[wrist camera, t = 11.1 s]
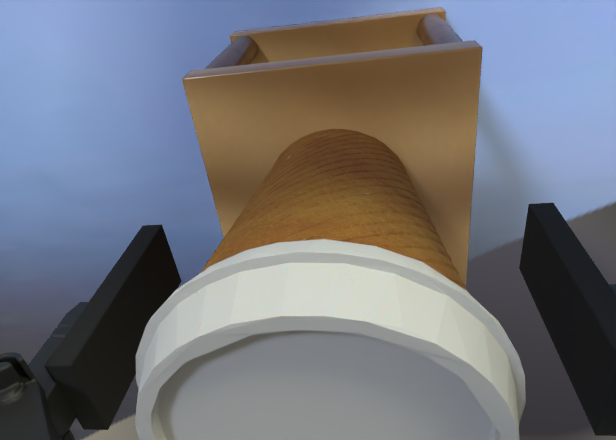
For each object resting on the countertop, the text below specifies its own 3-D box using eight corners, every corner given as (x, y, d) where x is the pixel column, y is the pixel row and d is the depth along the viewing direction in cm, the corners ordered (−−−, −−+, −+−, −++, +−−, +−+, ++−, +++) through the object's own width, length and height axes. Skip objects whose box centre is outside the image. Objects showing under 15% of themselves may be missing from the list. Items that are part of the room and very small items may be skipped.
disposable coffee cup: (194, 208, 22) (53, 455, 12) (317, 36, 17) (261, 197, 7) (352, 308, 24) (350, 583, 14) (497, 181, 20) (645, 453, 10)
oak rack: (234, 31, 27) (181, 78, 18) (442, 6, 25) (483, 46, 17) (268, 205, 33) (239, 297, 24) (437, 194, 31) (466, 289, 23)
